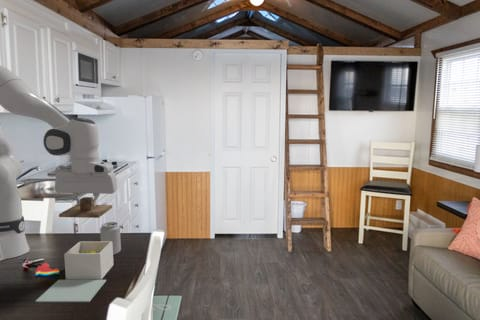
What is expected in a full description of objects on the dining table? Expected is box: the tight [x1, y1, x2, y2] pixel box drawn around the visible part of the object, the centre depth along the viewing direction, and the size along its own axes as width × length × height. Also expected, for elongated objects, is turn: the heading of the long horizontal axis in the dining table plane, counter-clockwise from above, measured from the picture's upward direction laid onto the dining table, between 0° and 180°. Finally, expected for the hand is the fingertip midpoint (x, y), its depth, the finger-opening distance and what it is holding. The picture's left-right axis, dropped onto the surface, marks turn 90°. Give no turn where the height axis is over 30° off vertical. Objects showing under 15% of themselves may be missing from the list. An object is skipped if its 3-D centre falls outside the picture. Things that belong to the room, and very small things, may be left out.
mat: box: [34, 279, 107, 303], centre depth 116 cm, size 16×14×1 cm
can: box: [99, 221, 122, 256], centre depth 147 cm, size 8×8×12 cm
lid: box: [58, 196, 113, 219], centre depth 127 cm, size 13×13×5 cm
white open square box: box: [63, 240, 114, 280], centre depth 129 cm, size 12×12×9 cm
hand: (86, 205), depth 127 cm, fingers closed on lid, 3 cm apart
